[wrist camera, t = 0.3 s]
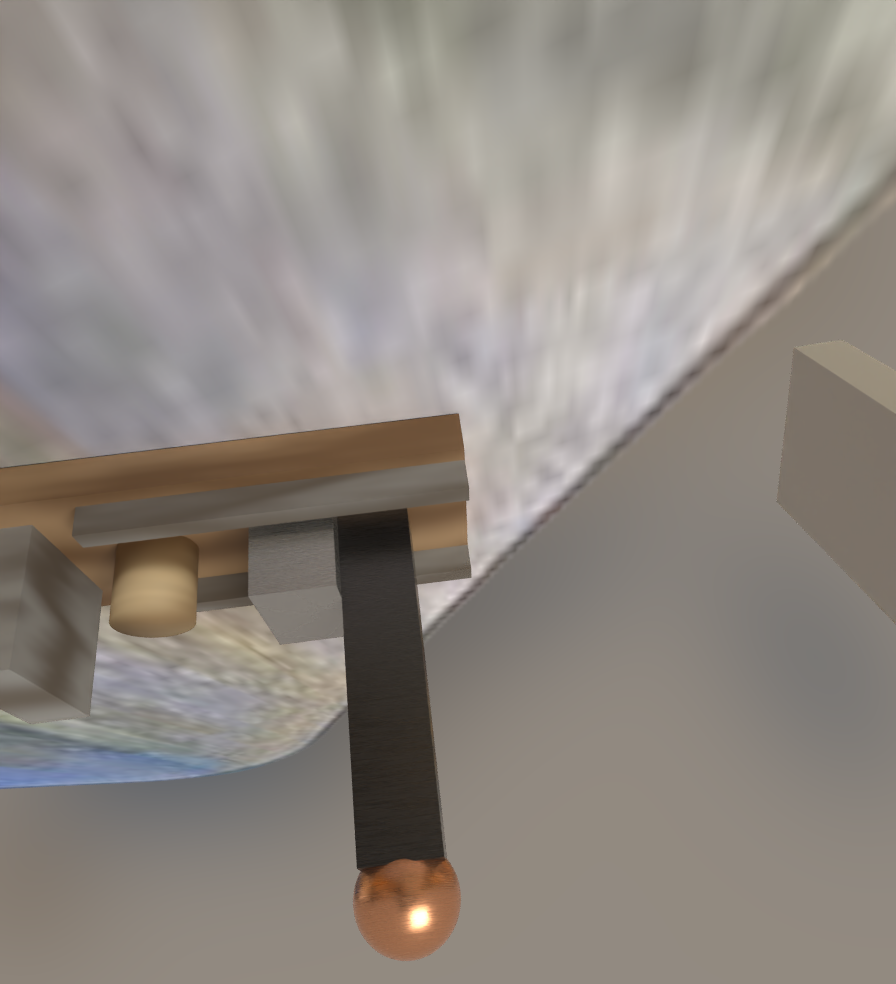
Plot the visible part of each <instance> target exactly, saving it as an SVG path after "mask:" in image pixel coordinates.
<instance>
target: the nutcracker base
mask: <svg viewBox="0 0 896 984" xmlns="http://www.w3.org/2000/svg"><path fill="white" fill-rule="evenodd" d="M468 500H469V485H468V479H467V472H466V466H465V457H464V445H463V438H462V432H461V425H460V419H459V414H452V415H444V416H436V417H427V418H419V419H410V420H402V421H394V422H385V423H377V424H369V425H360V426H352V427H344V428H335V429H327V430H319V431H310V432H302V433H293V434H285V435H277V436H268V437H260V438H252V439H243V440H235V441H227V442H218V443H210V444H202V445H193V446H185V447H176V448H168V449H160V450H151V451H143V452H135V453H126V454H118V455H110V456H101V457H93V458H85V459H76V460H68V461H59V462H51V463H43V464H34V465H26V466H18V467H9V468H1V469H0V709H1V710H3V711H5V712H7V713H9V714H11V715H13V716H15V717H17V718H19V719H21V720H23V721H25V722H27V723H29V724H35V723H43V722H51V721H59V720H66V719H74V718H82V717H90V707H91V698H92V688H93V678H94V669H95V659H96V650H97V640H98V631H99V621H100V612H101V606H107V605H111V598H112V588H113V578H114V567H115V557H116V547H117V544H118V543H126V542H134V541H142V540H150V539H158V538H167V537H175V536H184V537H187V538H189V539H191V540H192V541H194V542H195V543H196V544H197V546H198V548H199V562H198V587H197V612H201V611H209V610H217V609H225V608H233V607H241V606H249V605H254V604H253V603H252V601H251V600H250V598H249V597H248V552H249V527H256V526H264V525H272V524H281V523H289V522H297V521H305V520H313V519H321V518H329V517H338V516H346V515H354V514H362V513H370V512H378V511H387V510H395V509H403V508H407V511H408V517H409V523H410V529H411V535H412V541H413V550H414V560H415V569H416V578H417V584H425V583H433V582H441V581H449V580H457V579H465V578H471V565H470V558H469V551H468V543H467V514H466V501H468Z"/></svg>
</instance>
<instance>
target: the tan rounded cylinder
mask: <svg viewBox="0 0 896 984" xmlns="http://www.w3.org/2000/svg"><path fill="white" fill-rule="evenodd" d="M198 562H199V548H198V546H197V544H196V543H195V542H194V541H192V540H191V539H189V538H187V537H184V536H175V537H167V538H158V539H150V540H142V541H134V542H126V543H118V544H117V547H116V557H115V567H114V578H113V588H112V598H111V608H110V619H109V624H110V626H111V627H112V628H113V629H114V630H116V631H118V632H120V633H123V634H127V635H131V636H137V637H150V638H155V637H168V636H174V635H179V634H182V633H185V632H187V631H189V630H191V629H192V628H193V627H194V626H195V625H196V612H197V587H198Z"/></svg>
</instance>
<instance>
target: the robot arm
mask: <svg viewBox="0 0 896 984" xmlns="http://www.w3.org/2000/svg"><path fill="white" fill-rule="evenodd" d="M777 503H779V505H780V506H781V507H782V508H783V509H784V510H785V511H786V512H787V513H788V514H789V515H790V516H791V517H792V518H793V519H794V520H795V521H796V522H797V523H798V524H799V525H800V526H801V527H802V528H803V529H804V530H805V531H806V532H807V533H808V534H809V535H810V537H811V538H812V539H813V540H814V541H815V542H816V543H817V544H818V545H819V546H820V547H821V548H822V549H823V550H824V551H825V552H826V553H827V554H828V555H829V556H830V557H831V558H832V559H833V560H834V561H835V562H836V563H837V564H838V565H839V566H840V567H841V568H842V569H843V571H845V572H846V574H848V576H849V577H850V578H851V579H852V580H853V581H854V582H855V583H856V584H857V585H858V586H859V587H860V588H861V589H862V590H863V591H864V592H865V593H866V594H867V595H868V596H869V597H870V598H871V599H872V600H873V601H874V602H875V603H876V604H877V605H878V607H879V608H881V610H882V611H883V612H884V613H885V614H886V615H887V616H888V617H889V618H890V619H891V620H892V621H893V622H894V623H895V624H896V371H895V370H893V369H892V368H890V367H888V366H886V365H885V364H883V363H881V362H880V361H878V360H876V359H874V358H873V357H871V356H869V355H867V354H866V353H864V352H862V351H860V350H858V349H857V348H855V347H853V346H852V345H850V344H848V343H847V342H845V341H843V340H838V341H831V342H825V343H819V344H812V345H806V346H799V347H794V351H793V359H792V368H791V378H790V387H789V395H788V404H787V414H786V422H785V432H784V440H783V450H782V458H781V467H780V476H779V485H778V494H777Z"/></svg>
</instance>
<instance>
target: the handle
mask: <svg viewBox="0 0 896 984" xmlns="http://www.w3.org/2000/svg"><path fill="white" fill-rule="evenodd" d="M248 597H249V598H250V600H251V601H252V603H253V604H254V606H255V607H256V609H257V610H258V612H259V613H260V615H261V616H262V618H263V619H264V621H265V622H266V624H267V625H268V627H269V628H270V630H271V631H272V633H273V634H274V636H275V637H276V639H277V640H278V642H279V643H280V645H281V644H289V643H297V642H305V641H312V640H320V639H328V638H336V637H344V648H345V666H346V683H347V701H348V718H349V735H350V754H351V770H352V787H353V788H352V789H353V806H354V824H355V841H356V859H357V869H358V870H360V871H361V872H360V874H359V876H358V878H357V881H356V885H355V889H354V896H353V908H354V915H355V919H356V923H357V925H358V928H359V930H360V932H361V934H362V936H363V937H364V939H365V940H366V941H367V943H368V944H369V945H370V946H371V947H372V948H374V949H375V950H376V951H377V952H378V953H380V954H382V955H384V956H386V957H388V958H391V959H394V960H400V961H412V960H417V959H421V958H424V957H426V956H428V955H430V954H432V953H433V952H435V951H436V950H437V949H439V948H440V947H441V946H442V945H443V944H444V943H445V941H446V940H447V939H448V938H449V937H450V935H451V933H452V931H453V930H454V927H455V925H456V923H457V920H458V916H459V912H460V905H461V893H460V886H459V882H458V878H457V875H456V873H455V871H454V869H453V867H452V866H451V864H450V862H449V861H448V860H447V854H446V845H445V836H444V827H443V818H442V808H441V799H440V790H439V780H438V772H437V762H436V753H435V744H434V734H433V726H432V717H431V707H430V698H429V689H428V680H427V671H426V661H425V652H424V642H423V633H422V624H421V615H420V606H419V596H418V587H417V578H416V569H415V560H414V550H413V541H412V535H411V529H410V523H409V517H408V511H407V508H403V509H395V510H387V511H378V512H370V513H362V514H354V515H346V516H338V517H329V518H321V519H313V520H305V521H297V522H289V523H281V524H272V525H264V526H256V527H249V552H248Z"/></svg>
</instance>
